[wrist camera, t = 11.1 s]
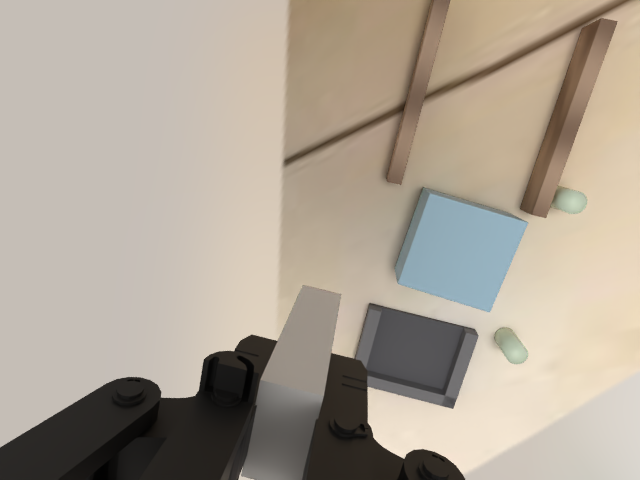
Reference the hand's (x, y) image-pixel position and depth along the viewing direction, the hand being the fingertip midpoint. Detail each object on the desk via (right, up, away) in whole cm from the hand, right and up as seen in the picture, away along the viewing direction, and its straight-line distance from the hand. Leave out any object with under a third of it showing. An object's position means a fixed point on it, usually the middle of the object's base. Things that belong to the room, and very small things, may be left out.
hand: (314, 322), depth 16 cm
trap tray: (+8, -7, +20) cm, 23 cm away
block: (+11, +3, +18) cm, 21 cm away
